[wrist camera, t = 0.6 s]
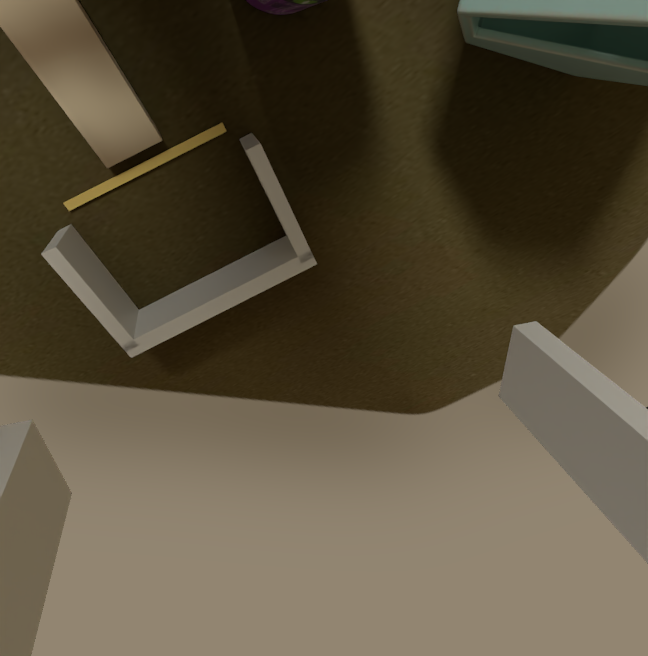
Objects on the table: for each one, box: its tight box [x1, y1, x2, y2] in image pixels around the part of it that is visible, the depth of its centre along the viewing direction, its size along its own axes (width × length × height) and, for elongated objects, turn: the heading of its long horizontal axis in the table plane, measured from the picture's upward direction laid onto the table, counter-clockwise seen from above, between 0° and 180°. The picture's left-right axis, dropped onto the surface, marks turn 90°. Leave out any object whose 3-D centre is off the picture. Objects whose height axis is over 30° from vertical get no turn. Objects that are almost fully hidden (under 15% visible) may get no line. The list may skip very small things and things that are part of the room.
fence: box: [41, 133, 317, 358], centre depth 32 cm, size 9×15×4 cm, turn 113°
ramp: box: [0, 0, 162, 168], centre depth 25 cm, size 15×4×4 cm, turn 23°
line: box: [63, 123, 227, 211], centre depth 31 cm, size 1×12×1 cm, turn 112°
